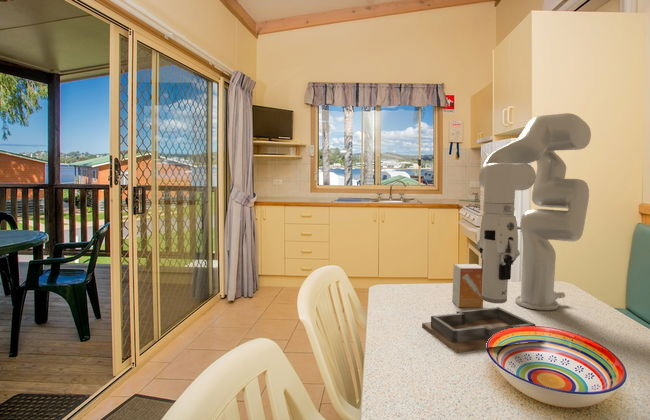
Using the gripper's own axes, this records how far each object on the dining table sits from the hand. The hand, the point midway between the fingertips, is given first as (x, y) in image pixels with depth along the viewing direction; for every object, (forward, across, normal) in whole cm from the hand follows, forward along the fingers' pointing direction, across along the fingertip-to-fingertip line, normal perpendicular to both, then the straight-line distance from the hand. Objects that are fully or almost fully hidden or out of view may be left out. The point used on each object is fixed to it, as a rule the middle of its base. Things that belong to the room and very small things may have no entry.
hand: (495, 275), depth 107 cm
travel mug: (+7, 0, 0) cm, 7 cm away
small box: (+16, +22, -7) cm, 28 cm away
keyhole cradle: (+16, 0, +4) cm, 16 cm away
